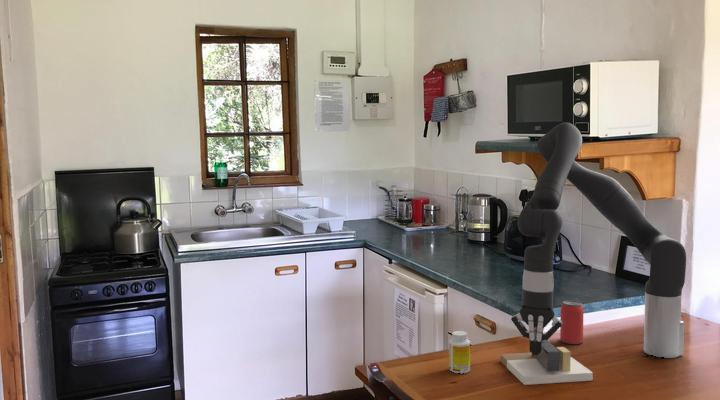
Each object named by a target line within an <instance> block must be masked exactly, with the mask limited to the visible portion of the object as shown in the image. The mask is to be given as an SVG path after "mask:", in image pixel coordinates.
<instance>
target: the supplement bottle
mask: <svg viewBox="0 0 720 400" xmlns="http://www.w3.org/2000/svg"><path fill="white" fill-rule="evenodd" d="M451 335H452V336H451V338H450V339H449V341H448V366H449V367H448V368H449V371H450V372H451V371H452V373H453V372H454V374H458V373H460V374H461V375H463V373H464V374H468V373H469V372H470V371H471V341H470V340H469V339H468V332H467V331H465V330H464V331H463V330H456V331H452V333H451ZM460 374H459V375H460Z"/></svg>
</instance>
